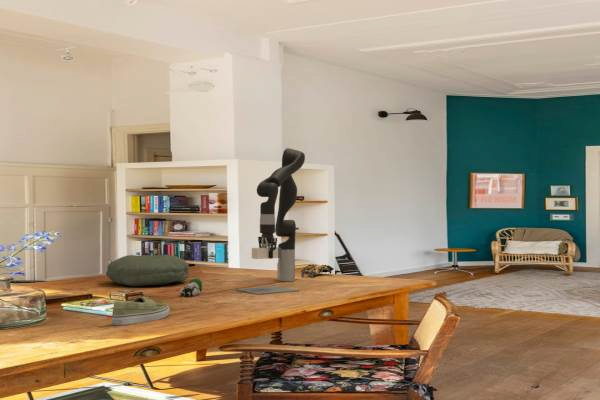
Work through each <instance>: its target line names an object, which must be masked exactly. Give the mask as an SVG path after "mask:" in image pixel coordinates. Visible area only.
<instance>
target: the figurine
mask: <svg viewBox="0 0 600 400" xmlns="http://www.w3.org/2000/svg"><path fill="white" fill-rule="evenodd" d="M332 271H334V268H333V267H332V266H330V265H328V264H315V263H314V264H308V265H306V266H305V267H304V268H303V269H301V270H300V272H301V274H300V276H301V278H303V277H304V276H305V275H310V276H308V278H314V277H318V276H320V275H321V274H323V273H329V274H332V273H333V272H332Z"/></svg>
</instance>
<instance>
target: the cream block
mask: <svg viewBox="0 0 600 400" xmlns="http://www.w3.org/2000/svg"><path fill="white" fill-rule="evenodd" d="M270 248H271V246H270ZM268 251H269V250H268V247H267V248H259V247H252V248H251V259H253V260H265V259H269V258H268ZM278 258H281V248H279V247H278V246H276V250H274V251H273V258H272V259H278Z"/></svg>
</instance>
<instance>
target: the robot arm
mask: <svg viewBox="0 0 600 400" xmlns="http://www.w3.org/2000/svg"><path fill="white" fill-rule="evenodd" d="M305 154H306V153H304V152H303V151H300V150H297V149H293V148H290V147H289V148H288V147H287V148H285V149H284V151H283V153H282V158H281V167H279V168H277V169H276V170H274V171H273V172H272V173H271V175H270V176H269V177H267V178H264V179H263V180H262V181H261V182H259V184H258V185H257V188H256V194H257V196H259V197H261V198H267V200H266V201H263V202H261V203H260V214H259V215H260V216H259V233H260V234H261V236H258V237H257V238H258V239H257V240H258V248H268V250H269V251H268V258H269V259H274V258H273V251H274V250H276V247H279V248H281V258H277V263H276V267H277V268H276V269H277V270H276V271H277V272H276V273H277V274H276V275H277V277H276V279H277V281H279V282H295V281H296V229H297V225H296V221H295V220H294V219H285V217H286V215H287V213H288V212H289V211H290V210H291V208H293V206H294V205H295V203H296V202H297V198H298V197H297V196H298V187H297V184H296V182H295V180H294V177H293V176H292V175H294V174H295V173H296V172H297V171H299V170H300V169H301V168H302V167H303V165H305V160H306V155H305ZM279 188H280V189H279ZM278 195H279V196H278ZM277 198H278V207H277V208H278V211H277V216H276V214H275V213H276V211H275V210H276V208H275V207H276V203H277ZM274 234H275V235H276V236H277V237H274ZM278 237H280V238H281V237H282V238H283V237H284V238H285V237H286V238H287V237H288V239H287V240H285V241H283V242H281V243H279V244H278V243H277V242H278ZM277 244H278V246H277ZM270 247H271V248H270Z"/></svg>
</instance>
